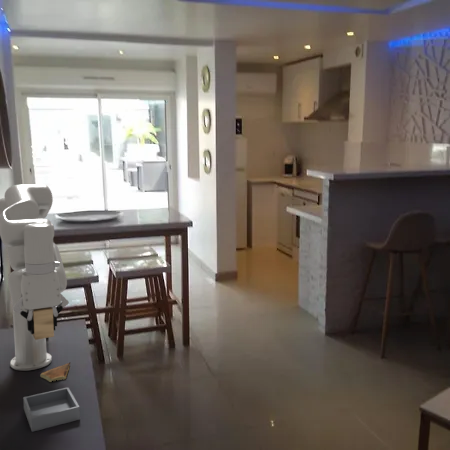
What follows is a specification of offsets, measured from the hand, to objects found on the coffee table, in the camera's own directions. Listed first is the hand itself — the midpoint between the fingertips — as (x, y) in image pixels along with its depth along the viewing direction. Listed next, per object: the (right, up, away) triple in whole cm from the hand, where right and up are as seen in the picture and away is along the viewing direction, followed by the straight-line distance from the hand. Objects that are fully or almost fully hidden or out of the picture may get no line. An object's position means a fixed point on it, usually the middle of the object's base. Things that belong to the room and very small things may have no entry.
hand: (42, 330), depth 141 cm
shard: (-1, -17, +15) cm, 23 cm away
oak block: (0, -1, 0) cm, 2 cm away
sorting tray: (+6, -20, -9) cm, 23 cm away
